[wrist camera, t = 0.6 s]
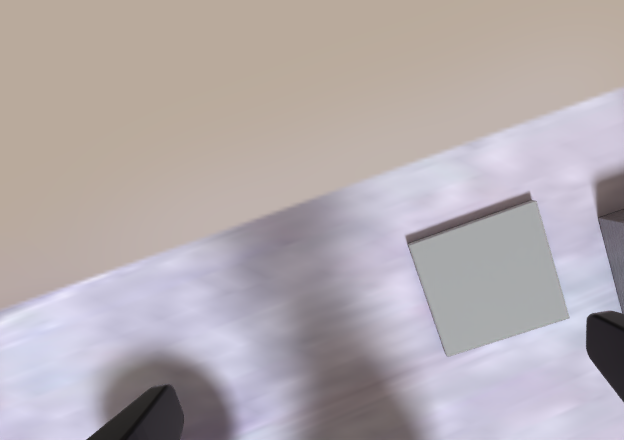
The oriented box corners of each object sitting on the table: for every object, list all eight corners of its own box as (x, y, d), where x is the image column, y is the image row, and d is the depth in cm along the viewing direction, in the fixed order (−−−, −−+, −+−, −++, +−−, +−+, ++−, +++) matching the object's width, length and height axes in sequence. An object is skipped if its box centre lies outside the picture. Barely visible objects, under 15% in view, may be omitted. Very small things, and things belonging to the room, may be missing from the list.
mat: (564, 314, 23) (569, 318, 22) (445, 352, 23) (447, 356, 23) (531, 199, 22) (536, 200, 21) (407, 243, 22) (409, 245, 22)
